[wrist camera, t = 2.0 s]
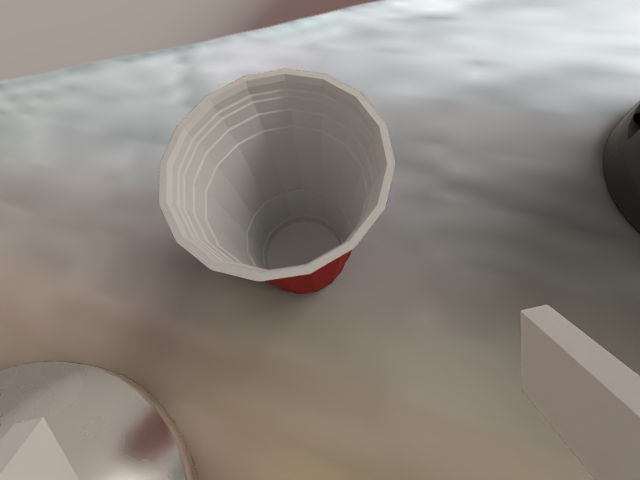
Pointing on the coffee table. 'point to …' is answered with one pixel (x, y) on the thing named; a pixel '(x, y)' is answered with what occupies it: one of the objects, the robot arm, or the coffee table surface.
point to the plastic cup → (277, 178)
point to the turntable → (97, 421)
